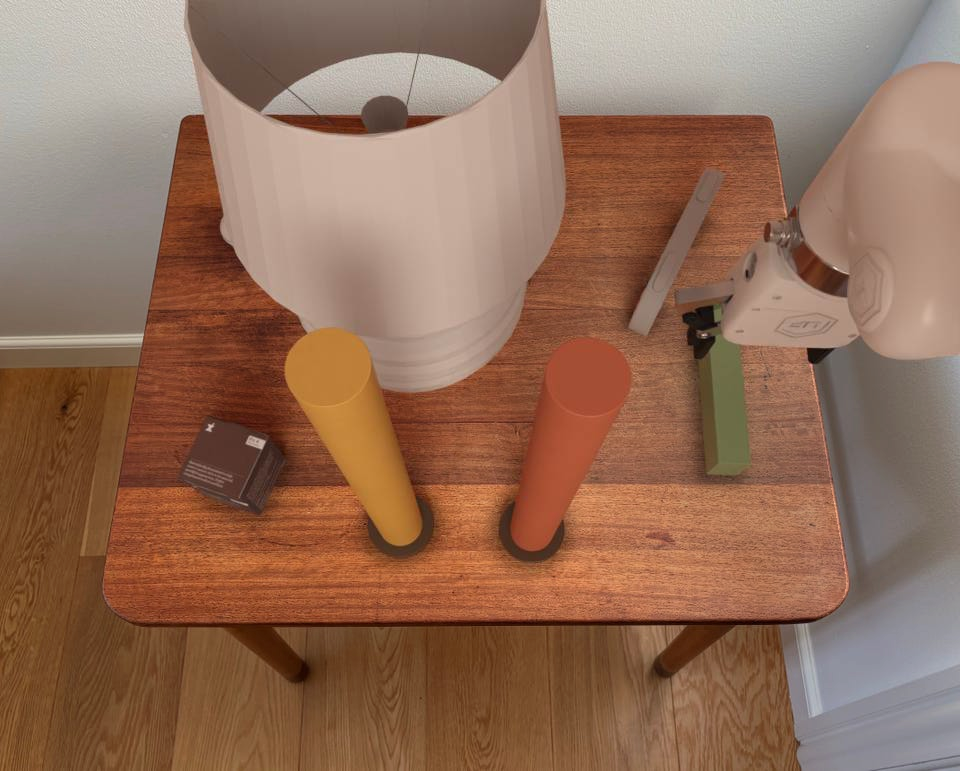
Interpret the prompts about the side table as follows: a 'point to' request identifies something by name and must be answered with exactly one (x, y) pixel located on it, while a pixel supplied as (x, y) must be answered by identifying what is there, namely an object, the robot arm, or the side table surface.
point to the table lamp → (388, 175)
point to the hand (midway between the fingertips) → (753, 345)
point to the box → (233, 465)
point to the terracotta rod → (563, 443)
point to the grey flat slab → (675, 252)
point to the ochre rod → (359, 435)
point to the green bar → (724, 408)
